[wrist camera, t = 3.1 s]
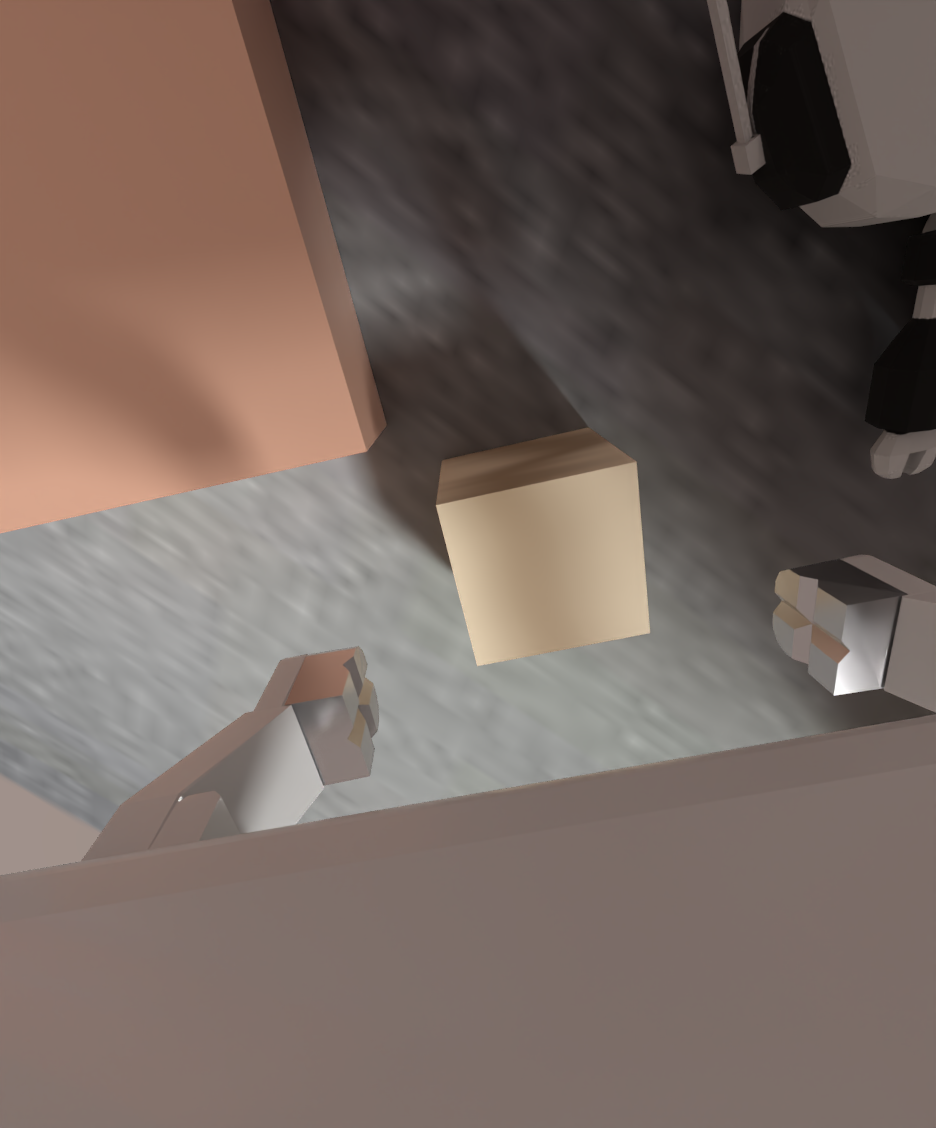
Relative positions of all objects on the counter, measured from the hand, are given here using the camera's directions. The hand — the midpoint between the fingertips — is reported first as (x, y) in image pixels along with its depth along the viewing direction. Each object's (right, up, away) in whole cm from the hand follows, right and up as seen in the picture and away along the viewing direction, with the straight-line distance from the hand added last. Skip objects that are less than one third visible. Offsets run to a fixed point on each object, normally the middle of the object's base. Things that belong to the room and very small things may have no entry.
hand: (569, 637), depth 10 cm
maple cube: (0, +3, +8) cm, 9 cm away
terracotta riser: (-12, +10, +4) cm, 16 cm away
